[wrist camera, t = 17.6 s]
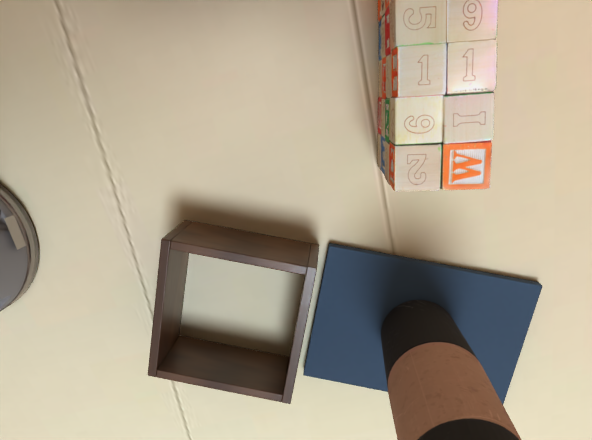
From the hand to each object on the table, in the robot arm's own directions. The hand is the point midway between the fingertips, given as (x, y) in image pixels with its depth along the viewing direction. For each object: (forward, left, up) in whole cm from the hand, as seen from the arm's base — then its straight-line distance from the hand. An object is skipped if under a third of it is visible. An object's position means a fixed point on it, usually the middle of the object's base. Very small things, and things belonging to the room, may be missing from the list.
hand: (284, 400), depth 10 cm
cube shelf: (-5, -14, -35) cm, 38 cm away
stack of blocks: (+6, +12, -35) cm, 37 cm away
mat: (+12, -14, -35) cm, 39 cm away
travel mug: (+12, -14, -34) cm, 39 cm away
